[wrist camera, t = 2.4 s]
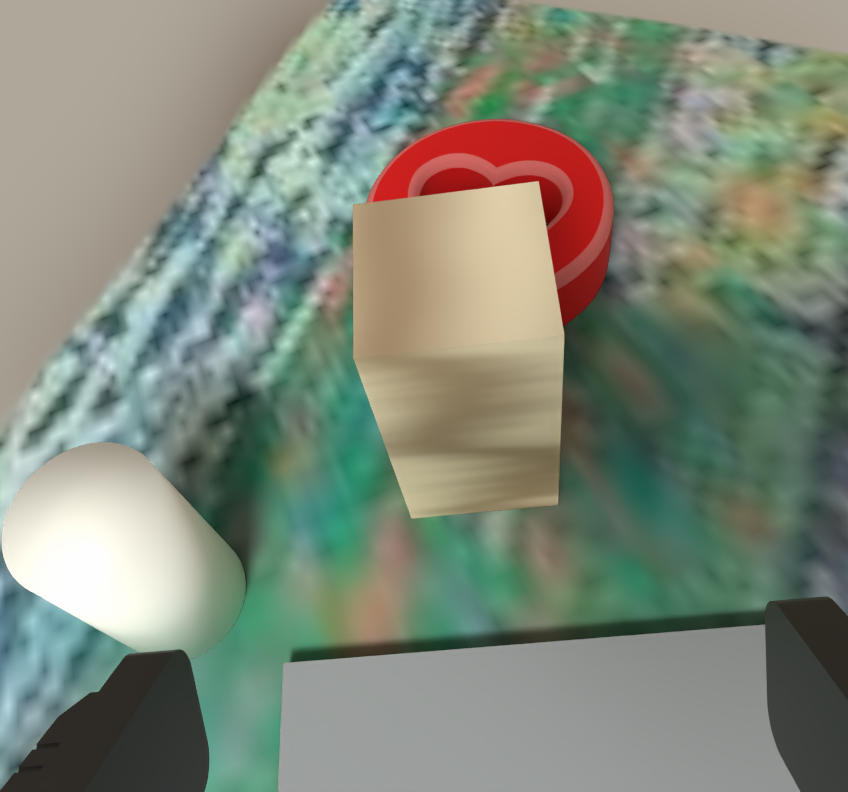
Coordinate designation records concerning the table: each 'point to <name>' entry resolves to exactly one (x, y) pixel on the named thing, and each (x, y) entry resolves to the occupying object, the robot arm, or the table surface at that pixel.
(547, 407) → the beech block
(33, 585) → the white cylinder
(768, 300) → the table surface
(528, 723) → the grey mat
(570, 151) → the decorative ornament
